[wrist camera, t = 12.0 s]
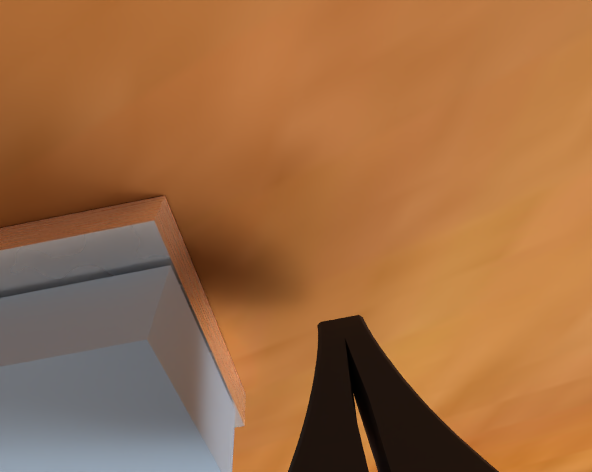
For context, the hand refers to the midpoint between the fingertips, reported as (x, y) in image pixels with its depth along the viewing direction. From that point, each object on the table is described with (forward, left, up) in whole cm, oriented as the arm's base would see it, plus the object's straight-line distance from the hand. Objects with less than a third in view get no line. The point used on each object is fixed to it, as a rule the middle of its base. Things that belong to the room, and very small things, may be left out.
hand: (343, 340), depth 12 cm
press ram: (0, +8, -1) cm, 9 cm away
